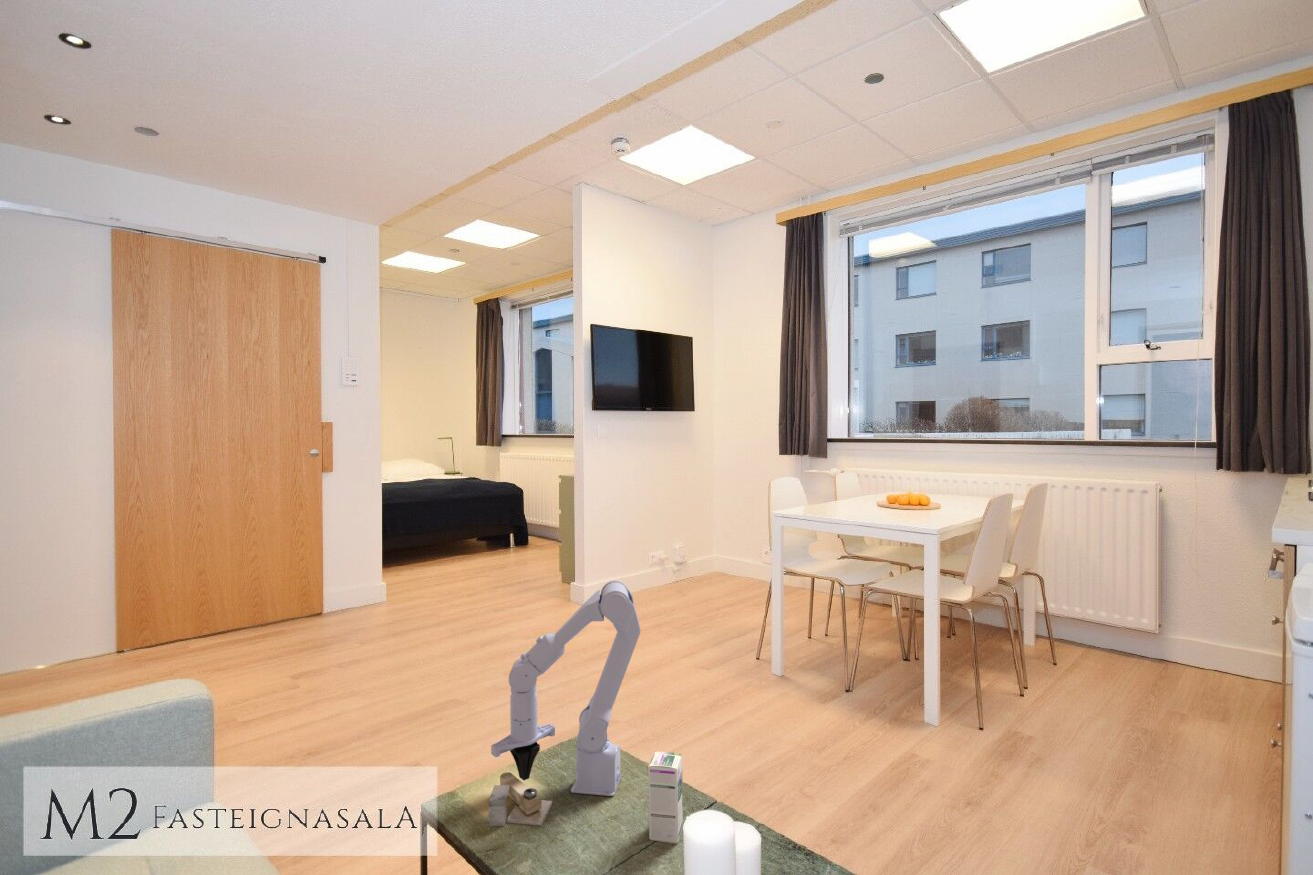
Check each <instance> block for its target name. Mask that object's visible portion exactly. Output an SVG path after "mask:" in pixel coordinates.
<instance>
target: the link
mask: <svg viewBox="0 0 1313 875" xmlns="http://www.w3.org/2000/svg"><path fill="white" fill-rule="evenodd" d="M499 778H500V779H499V781H500V782H499V784H500V785H509V793H508V796H507V797H509V798H510V799H512V801H514V802H515V803H516V804H518V805H519V808H520V809H522V810H523V811H524V812H525V813H526V814H527V815H528V814H530V813H533V812H535V811H537V810H539V809H541V800H542V796H541V794H540V793H538V792H537V795H536V796H534V798H532V799H530V800H528V799H527V797H525V796H524V791H525V790H527V789H530V787H529V786H528V785H526V784H525V783H524V782H523V781H522V780H520V779H519V778H518V777H517V776H516V775H514V774H513V773H512V772H503V773H501V775H500V776H499Z"/></svg>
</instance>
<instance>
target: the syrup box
mask: <svg viewBox="0 0 1313 875" xmlns="http://www.w3.org/2000/svg"><path fill="white" fill-rule="evenodd" d="M647 771H648V774H647V775H648V780H647V782H648V785H647V786H648V834H649V835H648V838H649V840H651V841H656V842H662V843H669V844H679V841H680V837H681V834H682V831H683V829H684V828H683V827H684V800H683V799H684V796H683V795H684V794H683V793H684V791H683V788H684V787H683V786H684V785H683V784H684V782H683V755H682V753H678V752H677V753H676V752H671V751H670V752H669V751H654V753H653V756H652V758H651V759H650V762H649V764H648V767H647Z"/></svg>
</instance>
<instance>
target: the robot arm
mask: <svg viewBox="0 0 1313 875" xmlns="http://www.w3.org/2000/svg"><path fill="white" fill-rule="evenodd" d="M637 613H638V612H637V609H636V604H635V600H634V597H633V595H632V593H631V591H630V590H629V588H628V587H627V586H626V585H625V583H623V582H621V581H619V580H611V581H608V582H607V583H605V584H604V585H603V586H602V588H601V589H598V590H597V591H595V592H594V593H593V594H592V595H591V596H590V597H589V598H588V599H587V600H586V601H585V602H584V603H583V604H582V605H581V606H580V607H579V608H578V609H577V610H576V611H575V612H574V613H573V615H572V616H570V617H569V619H568V620H567V621H566V622H565V623H563V625H562V626H561V627H560V628H559V629H558V630H557V631H556V632H555V633H554V632H553V633H551V632H550V633H546V634H544V636H542V635H539V636H538V637H537V639H536V640H535V642H536V643H535V644H534V645H533V646H532V647H531V648H530V649H529V650H528V651H527V652H523V653H522V654H521V655H520V657H519V658H518V659H516V660H515V661H514V663H513V664H512V666H511V670H510V671H509V675H508V684H509V686H510V693H511V694H510V697H509V698H510V699H509V700H510V701H509V703H510V704H509V707H510V709H509V712H510V734H508V735H507V736H505V737H504V738H502V739H501V740H499V741H497V742H495V743H493V744H491V746H490V748H491V749H490V750H491V753H490V754H491V755H492V756H493V757H494V758H499V757H500V756H501V755H502V754H505V753H507V752H510V754H511V756H512V757H513V759H514V762H515V765H516V769H517V772H518V777H519V778H520V779H521V781H522V780H523V781H526V780H528V779H530V776H531V771H532V768H533V765H534V762H535V760H536V757H537V755H538V753H539V752H540V751H541V748H540V747H541V744H539V743H538V741H540V740H541V739H545V738H547V737H554V736H555V735H556V726H554V725H553V724H551V723H549V724H545V725H539V726H538V692H537V680H538V677H540V676H541V675H544V674H545V673H546V672H547V671H548V670H550V669H551V667H552V666H553V665H554V664H555V663H556V662H557V661H558V660H560V658H561V657H562V656H564V654H565V646H566V644H568V643H569V642H570V641H571V640H572V639H573V638H574V637H575V636H576V635H578V634H579V633H581V631H583V630H584V628H585V627H587V626H588V625H589V624H590V623H592V622H604V621H605V618H606V619H607V620H609V621H610V622H611V623H612V625H613V626H614V629H615V630H616V635H615V636H614V640H613V643H612V645H611V647H610V651H609V653H608V655H607V658H606V660H605V663H604V666H603V669H602V672H601V674H600V677H599V680H598V682H597V685H596V688H595V690H594V693H593V695H592V697H591V698H590V700H589V702H588V704H587V705H586V707H585V708H583V709H582V710H581V712H580V715H579V718H578V720H579V721H578V723H579V726H578V733H577V741H576V744H575V745H576V748H575V749H576V752H575V754H576V758H575V759H576V762H575V763H576V778H575V781H574V783H573V785H572V787H571V788H570V792H571V793H573V794H584V795H593V796H594V795H596V796H604V797H605V796H606V797H613V796H615V794H616V792H617V789H618V787H619V784H620V781H621V778H622V774H621V746H620V745H618V744H615V743H614V744H613V743H612V742H610V738H609V737H608V726H609V724H610V720H611V715H612V711H613V707H614V704H615V702H616V699H617V696H618V694H619V691H620V688H621V685H622V683H623V680H624V677H625V675H626V672H627V669H628V667H629V664H630V661H631V658H632V656H633V653H634V650H635V648H636V645H637V644H638V643H637V642H638V641H639V638H640V635H641V625H640V621H639V617H638V614H637Z"/></svg>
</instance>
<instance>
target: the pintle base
mask: <svg viewBox="0 0 1313 875" xmlns="http://www.w3.org/2000/svg"><path fill="white" fill-rule="evenodd" d="M529 788H530V787H529ZM537 793H538V790H537V789H536V788H533V787H532V788H530V789H527V790H525V791H524V796H525V797H527V799H528V800H530V799H532V798H534V796H536V795H537ZM552 806H553V800H544V799H541V809H539V810H537V811H535V812H533V813H530V814H528V815H527V814H526V813H525V812H524V811H523V810H522V809H520V808H519V805H518V804H517V803H516V804H515V805H514V807H513V809H512V810H511V812H510V814H509V815H508V816H507V817H506V823H510V824H512V823H513V824H519V825H531V826H539V827H541V826H542V825H543V824H544V822H545V820H546V818H547V816H548V814H549V813H550V810H551V808H552Z"/></svg>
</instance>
